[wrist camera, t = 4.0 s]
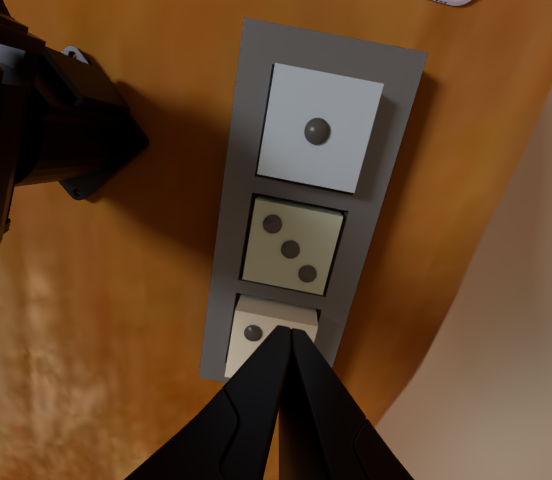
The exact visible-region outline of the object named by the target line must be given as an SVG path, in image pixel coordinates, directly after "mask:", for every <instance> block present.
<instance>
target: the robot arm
mask: <svg viewBox="0 0 552 480" xmlns="http://www.w3.org/2000/svg"><path fill="white" fill-rule="evenodd" d="M45 44H46V41H44V40H42V39H40V38H38V37H36V36H34V35H32V34H30V33H29V32H28V27H27V26H25V25H23V24H21V23H19V22H18V21H16V20H15V19H14V18H12V17H11V16H10V14H9V12H8V10H7V8H6V6H5V4H4V2H3V0H0V243H1V241H2V238H3V234H4V233H6V232H7V231H8V230H9V226H10V221H11V220H10V219H9V218H8V217H9V211H10V206H11V201H12V196H13V191H14V187H16V186H24V185H31V184H39V183H47V182H54V181H58V182H59V183H60V184H61V185H62V186H63V188H64V189H65V190H66V191H67V192H68V193H69V195H70V196H71V197H72V198H73V199H75V200H83V199H86V198H87V197H89V196H90V195H91V194H92V193H93V192H95V191H96V190H97V189H98V188H99V187H101V186H102V185H103V184H104V183H106V182H107V181H108V180H109V179H110V178H112V177H113V176H114V175H115V174H116V173H118V172H119V171H120V170H121V169H123V168H124V167H125V166H126V165H127V164H129V163H130V162H131V161H132V160H133V159H135V158H136V157H137V156H138V155H139V154H141V153H142V152H143V151H144V150H146V149H147V147H148V146H149V140H148V138H147V136H146V135H145V133H144V132H143V131H142V129H141V128H140V127H139V125H138V124H137V123H136V121H135V120H134V119H133V118H132V116H131V115H130V114H129V113H130V109H129V106H128V105H127V103H126V102H125V101H124V99H123V98H122V97H121V95H120V94H119V93H118V91H117V90H116V89H115V87H114V86H113V85H112V83H111V82H110V81H109V79H108V78H107V77H106V75H105V74H104V73H103V71H102V70H101V69H99V68H97V67H94V66H93V65H92V63H91V62H90V61H89V59H88V58H87V57H86V55H85V54H84V53H83V52H82V51H81V50H80V49H78V48H76V47H73V46H68V47H66V48H65V49H64V50H63V51H62V52H61V53H60V52H58V51H56V50H53V49H51V48H48V47H46V46H45ZM74 54H76V55H77V59H75V58H73V56H74ZM138 138H140V139H141V140H142V144H141V145H139V144H138V143H137V139H138ZM77 190H80V192H81V195H79V194H78V191H77ZM278 411H279V480H414V479H413V478H412V476H411V475H410V474H409V473H408V471H407V470H406V469H405V468H404V467H403V465H402V464H401V463H400V461H399V460H398V459H397V458H396V457H395V455H394V454H393V453H392V451H391V450H390V449H389V447H388V446H387V445H386V443H385V442H384V441H383V439H382V438H381V437H380V435H379V434H378V433H377V431H376V430H375V428H374V427H373V426H372V424H371V423H370V421H369V420H368V419H366V416H365V414H364V413H363V412H362V410H361V409H360V407H359V406H358V405H357V403H356V402H355V400H354V399H353V398H352V396H351V395H350V393H349V392H348V390H347V389H346V388H345V386H344V385H343V383H342V382H341V381H340V379H339V378H338V376H337V375H336V374H335V372H334V371H333V369H332V368H331V367H330V365H329V364H328V362H327V361H326V359H325V358H324V357H323V355H322V354H321V352H320V351H319V350H318V348H317V347H316V345H315V344H314V343H313V341H312V340H311V338H310V337H309V336H308V334H307V333H306V331H305V330H302V329H296V328H292V329H290V327H287V326H282V325H277V326H276V327H275V328H274V329H273V330H272V331H271V333H270V334H269V335H268V336H267V337H266V338H265V339H264V341H263V342H262V343H261V344H260V345H259V346H258V347H257V349H256V350H255V351H254V352H253V353H252V354H251V355H250V357H249V358H248V359H247V360H246V361H245V362H244V363H243V364H242V366H241V367H240V368H239V369H238V370H237V371H236V372H235V374H234V375H233V376H232V377H231V378H230V379H229V380H228V382H227V383H226V384H225V385H224V386H223V387H222V389H221V390H219V392H218V393H217V394H216V395H215V396H214V397H213V398H212V400H211V401H210V402H209V403H208V404H207V405H206V406H205V407H204V408H203V409H202V410H201V411H200V412H199V413H198V414H197V415H196V416H195V417H194V418H193V419H192V420H191V421H190V422H189V423H188V424H187V425H185V426H184V427H183V428H182V429H181V430H180V431H179V432H178V433H177V434H175V435H174V436H173V437H172V438H171V439H170V440H169V441H167V442H166V443H165V444H164V445H163V446H162V447H161V448H159V449H158V450H157V451H156V452H155V453H154V454H153V455H151V456H150V457H149V458H148V459H147V460H146V461H145V462H143V463H142V464H141V465H140V466H139V467H138V468H137V469H135V470H134V471H133V472H132V473H131V474H130V475H129V476H127V477H126V478H125V479H124V480H263V476H264V472H265V467H266V463H267V459H268V454H269V450H270V446H271V441H272V437H273V432H274V428H275V424H276V419H277V415H278Z"/></svg>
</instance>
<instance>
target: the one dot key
mask: <svg viewBox="0 0 552 480" xmlns="http://www.w3.org/2000/svg"><path fill="white" fill-rule="evenodd" d="M383 86H384V84H383V83H377V82H372V81H367V80H362V79H357V78H351V77H346V76H341V75H336V74H331V73H325V72H320V71H315V70H310V69H305V68H300V67H294V66H289V65H284V64H279V63H275V66H274V72H273V79H272V85H271V91H270V97H269V103H268V110H267V116H266V122H265V128H264V134H263V141H262V147H261V153H260V159H259V165H258V172H257V174H259V175H265V176H270V177H275V178H280V179H285V180H290V181H295V182H300V183H305V184H311V185H316V186H321V187H326V188H331V189H336V190H341V191H346V192H351V193H355V189H356V185H357V182H358V178H359V174H360V170H361V167H362V163H363V159H364V156H365V152H366V148H367V145H368V141H369V137H370V134H371V130H372V126H373V122H374V119H375V115H376V111H377V108H378V104H379V100H380V97H381V93H382V89H383Z"/></svg>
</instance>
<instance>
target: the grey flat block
mask: <svg viewBox="0 0 552 480" xmlns="http://www.w3.org/2000/svg"><path fill="white" fill-rule="evenodd" d="M427 56H428V53H427V52H422V51H417V50H412V49H407V48H401V47H396V46H391V45H386V44H380V43H375V42H370V41H365V40H360V39H354V38H349V37H344V36H339V35H333V34H328V33H323V32H318V31H313V30H307V29H302V28H297V27H292V26H286V25H281V24H276V23H271V22H266V21H260V20H255V19H250V18H245V17H244V21H243V29H242V37H241V45H240V53H239V61H238V69H237V77H236V85H235V92H234V100H233V108H232V116H231V124H230V132H229V140H228V148H227V156H226V164H225V172H224V180H223V188H222V196H221V204H220V212H219V220H218V227H217V235H216V243H215V251H214V259H213V267H212V275H211V283H210V291H209V299H208V307H207V315H206V323H205V331H204V339H203V347H202V355H201V362H200V370H199V377H200V378H205V379H210V380H215V381H220V382H225V383H227V382H228V380H229V379H230V378H229V377H225V370H226V364H227V358H228V352H229V345H230V339H231V333H232V327H233V321H234V314H235V309H236V307H237V304H238V299H239V293H241V294H246V295H251V296H256V297H261V298H266V299H271V300H276V301H281V302H286V303H291V304H296V305H301V306H306V307H311V308H316V313H317V321H318V329H317V333H316V337H315V340H314V344H315V345H316V347H317V348H318V350H319V351H320V352H321V354H322V355H323V357H324V358H325V359H326V361H327V362H328V364H329V365H330V367H331V368H332V367H333V364H334V361H335V357H336V354H337V351H338V348H339V344H340V341H341V338H342V334H343V331H344V328H345V325H346V321H347V318H348V315H349V312H350V308H351V305H352V302H353V298H354V295H355V292H356V289H357V285H358V282H359V279H360V275H361V272H362V269H363V266H364V262H365V259H366V256H367V252H368V249H369V246H370V243H371V239H372V236H373V233H374V229H375V226H376V223H377V220H378V216H379V213H380V210H381V207H382V203H383V200H384V197H385V193H386V190H387V187H388V184H389V180H390V177H391V174H392V170H393V167H394V164H395V161H396V157H397V154H398V151H399V147H400V144H401V141H402V138H403V134H404V131H405V128H406V124H407V121H408V118H409V115H410V111H411V108H412V105H413V102H414V98H415V95H416V92H417V88H418V85H419V82H420V79H421V75H422V72H423V69H424V65H425V62H426V59H427ZM275 63H279V64H284V65H289V66H294V67H300V68H305V69H310V70H315V71H320V72H325V73H331V74H336V75H341V76H346V77H351V78H357V79H362V80H367V81H372V82H377V83H383V84H384V86H383V89H382V93H381V97H380V100H379V104H378V108H377V111H376V115H375V119H374V122H373V126H372V130H371V134H370V137H369V141H368V145H367V148H366V152H365V156H364V159H363V163H362V167H361V170H360V174H359V178H358V182H357V185H356V189H355V193H351V192H346V191H341V190H336V189H331V188H326V187H321V186H316V185H311V184H305V183H300V182H295V181H290V180H285V179H280V178H275V177H270V176H265V175H259V174H257V172H258V165H259V159H260V153H261V147H262V141H263V134H264V128H265V122H266V116H267V110H268V103H269V97H270V91H271V85H272V79H273V72H274V66H275ZM256 193H258V194H264V195H269V196H274V197H279V198H284V199H289V200H294V201H299V202H304V203H309V204H314V205H319V206H325V207H330V208H335V209H340V210H342V211H341V214H342V216H343V219H342V223H341V227H340V231H339V234H338V238H337V242H336V246H335V250H334V253H333V257H332V261H331V265H330V268H329V272H328V276H327V280H326V283H325V287H324V291H323V295H320V294H315V293H310V292H305V291H300V290H295V289H290V288H285V287H280V286H275V285H269V284H264V283H259V282H254V281H249V280H244V279H242V278H243V272H244V262H245V256H246V250H247V244H248V237H249V231H250V225H251V219H252V213H253V207H254V201H255V195H256Z"/></svg>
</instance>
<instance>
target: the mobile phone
mask: <svg viewBox="0 0 552 480" xmlns="http://www.w3.org/2000/svg"><path fill="white" fill-rule="evenodd" d="M433 1H436V2H440V3H444V4H447V5H452V6H459V5H463V4H466V3H468V2H469V1H471V0H433Z"/></svg>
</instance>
